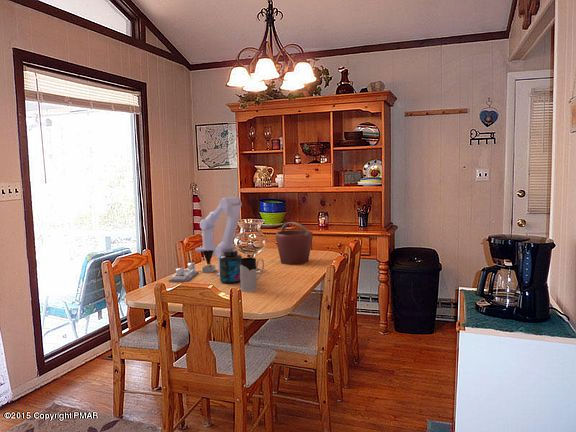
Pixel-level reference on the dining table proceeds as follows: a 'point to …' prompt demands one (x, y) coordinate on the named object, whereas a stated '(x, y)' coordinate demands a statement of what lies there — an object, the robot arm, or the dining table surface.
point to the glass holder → (249, 274)
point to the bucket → (294, 245)
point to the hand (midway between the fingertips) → (208, 263)
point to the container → (230, 267)
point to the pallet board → (187, 276)
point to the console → (208, 268)
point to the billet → (191, 266)
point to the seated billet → (180, 272)
